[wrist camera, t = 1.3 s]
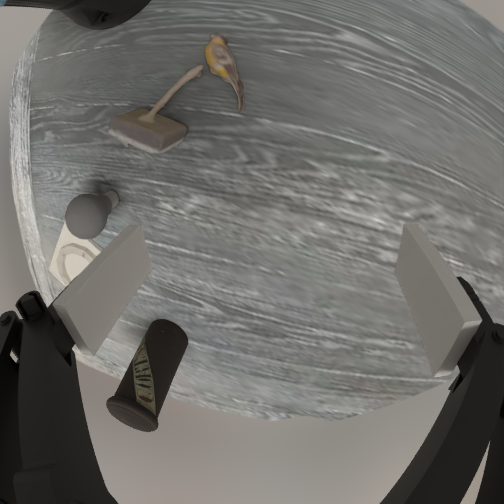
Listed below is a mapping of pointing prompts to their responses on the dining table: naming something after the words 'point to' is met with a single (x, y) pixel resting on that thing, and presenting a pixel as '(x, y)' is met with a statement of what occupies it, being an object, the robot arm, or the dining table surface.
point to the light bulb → (89, 214)
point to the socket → (72, 256)
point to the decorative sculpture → (157, 126)
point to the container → (149, 376)
